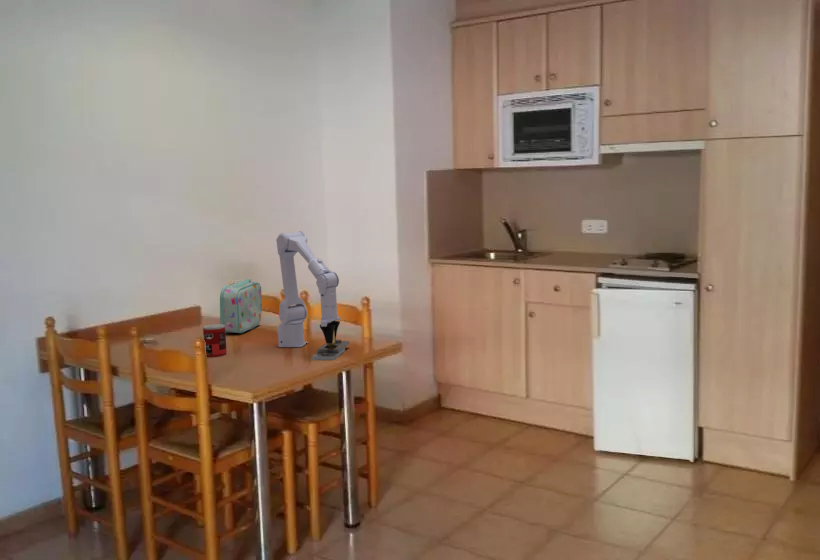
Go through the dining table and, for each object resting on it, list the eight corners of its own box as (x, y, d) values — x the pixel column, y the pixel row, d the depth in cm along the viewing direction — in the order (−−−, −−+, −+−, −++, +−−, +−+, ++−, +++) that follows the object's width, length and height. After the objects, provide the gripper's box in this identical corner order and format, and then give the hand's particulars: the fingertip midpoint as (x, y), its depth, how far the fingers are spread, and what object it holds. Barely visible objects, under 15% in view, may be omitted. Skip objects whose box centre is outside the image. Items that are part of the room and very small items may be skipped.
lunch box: (243, 323, 366) (240, 276, 363) (265, 323, 364) (262, 276, 361) (218, 336, 340) (215, 285, 337) (241, 336, 338) (238, 285, 335)
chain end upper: (317, 352, 295) (317, 347, 295) (329, 344, 309) (328, 339, 309) (338, 352, 294) (338, 347, 293) (349, 344, 307) (349, 339, 307)
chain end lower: (312, 359, 290) (311, 354, 289) (324, 350, 303) (324, 346, 303) (333, 360, 288) (333, 355, 288) (345, 351, 302) (344, 346, 301)
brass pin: (326, 351, 297) (325, 330, 296) (328, 349, 300) (327, 328, 299) (334, 351, 297) (332, 330, 296) (336, 349, 299) (335, 328, 298)
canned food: (203, 354, 306) (201, 325, 305) (224, 351, 309) (222, 323, 308) (206, 358, 299) (204, 328, 298) (228, 355, 302) (226, 326, 301)
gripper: (333, 309, 288) (335, 346, 290) (345, 302, 302) (347, 338, 304) (314, 309, 290) (316, 346, 292) (327, 302, 304) (329, 338, 306)
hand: (330, 342), depth 298 cm, fingers closed on brass pin, 3 cm apart
